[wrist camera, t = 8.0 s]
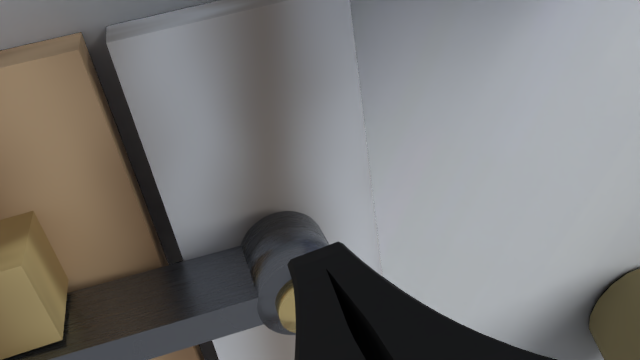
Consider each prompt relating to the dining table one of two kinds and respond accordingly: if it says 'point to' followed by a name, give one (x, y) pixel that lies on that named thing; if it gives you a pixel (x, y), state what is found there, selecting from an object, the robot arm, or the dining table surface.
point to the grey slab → (177, 154)
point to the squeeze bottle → (618, 319)
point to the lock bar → (189, 298)
